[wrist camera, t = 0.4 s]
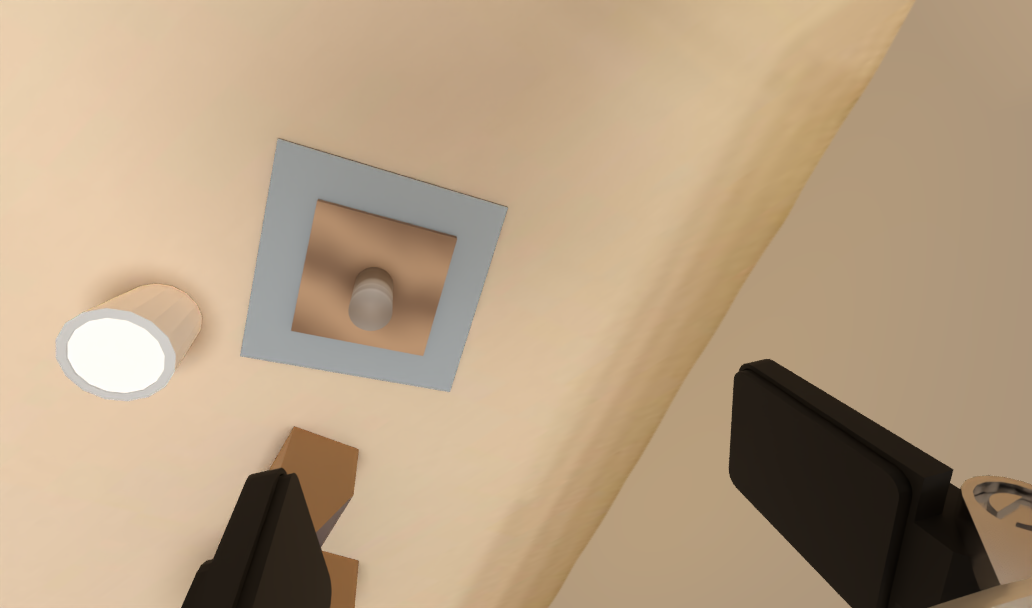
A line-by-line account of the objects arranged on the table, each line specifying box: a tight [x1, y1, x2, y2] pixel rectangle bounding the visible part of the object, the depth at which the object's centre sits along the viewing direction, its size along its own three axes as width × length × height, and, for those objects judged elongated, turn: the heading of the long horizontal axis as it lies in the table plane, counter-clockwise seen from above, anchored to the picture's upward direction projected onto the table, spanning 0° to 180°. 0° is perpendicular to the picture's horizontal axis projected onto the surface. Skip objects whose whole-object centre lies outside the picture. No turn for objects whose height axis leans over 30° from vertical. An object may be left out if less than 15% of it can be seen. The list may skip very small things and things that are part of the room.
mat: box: [240, 139, 508, 392], centre depth 41 cm, size 18×18×1 cm
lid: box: [291, 199, 457, 356], centre depth 38 cm, size 11×11×7 cm
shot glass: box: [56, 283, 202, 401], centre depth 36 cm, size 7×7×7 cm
